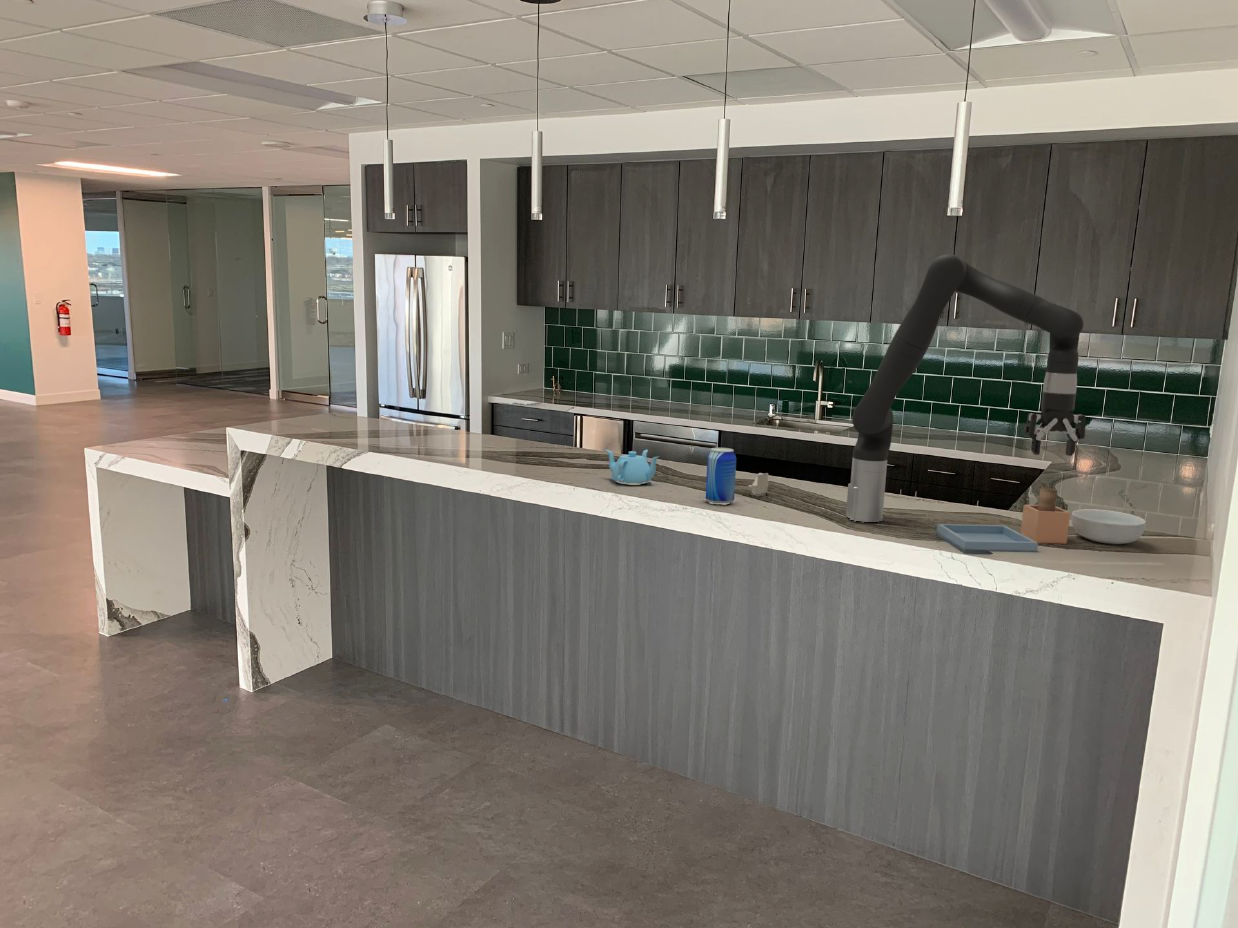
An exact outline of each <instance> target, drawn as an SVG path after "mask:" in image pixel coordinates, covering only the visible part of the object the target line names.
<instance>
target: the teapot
mask: <svg viewBox="0 0 1238 928" xmlns="http://www.w3.org/2000/svg"><path fill="white" fill-rule="evenodd" d="M605 451H606V452H607V455H608V467H609V470H610V472H611V478H612V480H613V481H614V480H616V481H619V482H626V483H643V482H648V481H649V482H650V481H651V480H652V478H653V476H654V475H655V473H656V469H657V468H656V465H657V463H656V462H657V460H658V458H659V457H660V456H661V455H659V456H653V457H652V458H651V460H650V464H649V462H648V460H647V459H648V458H647V455H648V452H649V450H648V449H645V450H643V451H642V454H641V455H638V454H637V452H636V451H633V450H631V451H628V454H624V455H621V456H619V458H618V459H617V461H615V457H614V453H613V451H611V450H609V449H606V448H605ZM649 482H648V483H649Z"/></svg>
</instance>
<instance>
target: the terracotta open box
mask: <svg viewBox="0 0 1238 928" xmlns="http://www.w3.org/2000/svg"><path fill="white" fill-rule="evenodd" d="M1022 509H1023V510H1022V518H1021V525H1020V534H1022V535H1024V536H1026V537H1028V538H1030V539H1032V540H1034V541H1035V542H1037V543H1038V544H1065V545H1066V544H1067V543H1068V537H1069V535H1068V534H1069V527H1070V526H1069V525H1070V520H1071V512H1070V511H1068V510H1066V509H1063V508H1061V507H1058V506H1056V507H1055V511H1039V510H1038V504H1023V507H1022Z"/></svg>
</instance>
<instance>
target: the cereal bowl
mask: <svg viewBox="0 0 1238 928" xmlns="http://www.w3.org/2000/svg"><path fill="white" fill-rule="evenodd" d="M1070 521H1071V525H1072V528H1073V530H1074V531H1075V532H1076V534H1078V535H1080V536H1081V537H1083V538H1085V539H1087V540H1089V541H1092V542H1096V543H1101V544H1108V545H1123V544H1129V543H1134V542H1135V541H1137V540H1139V539H1140V538H1141V536H1143V534H1144V532H1145V528H1146V521H1145V519H1144V518H1142V517H1140V516H1137V515H1134V514H1130V513H1126V512H1120V511H1116V510H1107V509H1097V508H1096V509H1093V508H1087V509H1085V508H1083V509H1077V510H1073V511H1072V512H1071V517H1070Z"/></svg>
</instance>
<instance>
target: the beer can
mask: <svg viewBox="0 0 1238 928" xmlns="http://www.w3.org/2000/svg"><path fill="white" fill-rule="evenodd" d="M734 451H735V450H734V449H733V448H728V447H712V448H711V449H710V452H709V453H708V454H707V459H706V460H707V462H706V481H705V500H706V501H707V502H708V501H709V502H713V503H731V502H732V503H733V502H734V500H735V492H736V491H735V490H736V489H735V488H736V473H737V472H736V471H737V470H736V469H737V457H736V454H735V453H734ZM732 503H731V504H732Z"/></svg>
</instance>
